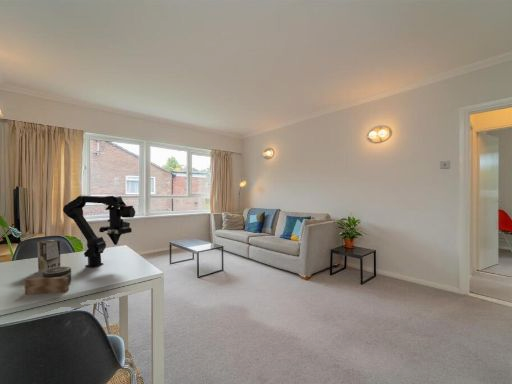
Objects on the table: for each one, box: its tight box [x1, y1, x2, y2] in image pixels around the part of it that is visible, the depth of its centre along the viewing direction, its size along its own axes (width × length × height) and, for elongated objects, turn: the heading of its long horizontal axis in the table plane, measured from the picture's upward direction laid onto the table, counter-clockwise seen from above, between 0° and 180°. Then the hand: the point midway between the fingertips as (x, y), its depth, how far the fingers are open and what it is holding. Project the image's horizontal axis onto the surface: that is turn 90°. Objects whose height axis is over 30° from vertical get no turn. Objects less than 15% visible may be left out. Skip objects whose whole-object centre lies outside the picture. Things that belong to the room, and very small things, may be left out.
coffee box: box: [37, 239, 61, 273], centre depth 128 cm, size 9×6×16 cm
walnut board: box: [24, 276, 70, 295], centre depth 102 cm, size 16×2×6 cm, turn 95°
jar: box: [42, 266, 72, 285], centre depth 108 cm, size 10×10×8 cm
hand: (115, 244), depth 136 cm, fingers closed
